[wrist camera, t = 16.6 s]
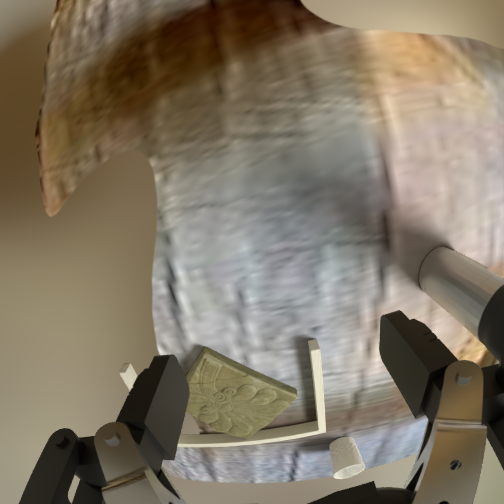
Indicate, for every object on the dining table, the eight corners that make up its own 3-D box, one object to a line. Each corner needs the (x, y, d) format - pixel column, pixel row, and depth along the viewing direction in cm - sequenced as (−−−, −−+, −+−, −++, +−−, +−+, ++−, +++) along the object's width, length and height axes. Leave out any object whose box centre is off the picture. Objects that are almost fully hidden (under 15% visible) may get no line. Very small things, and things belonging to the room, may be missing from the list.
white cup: (327, 439, 54) (334, 469, 44) (357, 432, 54) (367, 461, 44) (326, 452, 56) (332, 481, 47) (354, 446, 56) (362, 473, 46)
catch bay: (316, 338, 44) (319, 348, 41) (323, 422, 51) (325, 432, 49) (124, 363, 47) (119, 372, 44) (171, 437, 54) (168, 446, 51)
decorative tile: (206, 343, 45) (203, 355, 42) (297, 386, 48) (300, 399, 45) (166, 398, 50) (162, 409, 46) (246, 431, 53) (246, 443, 49)
